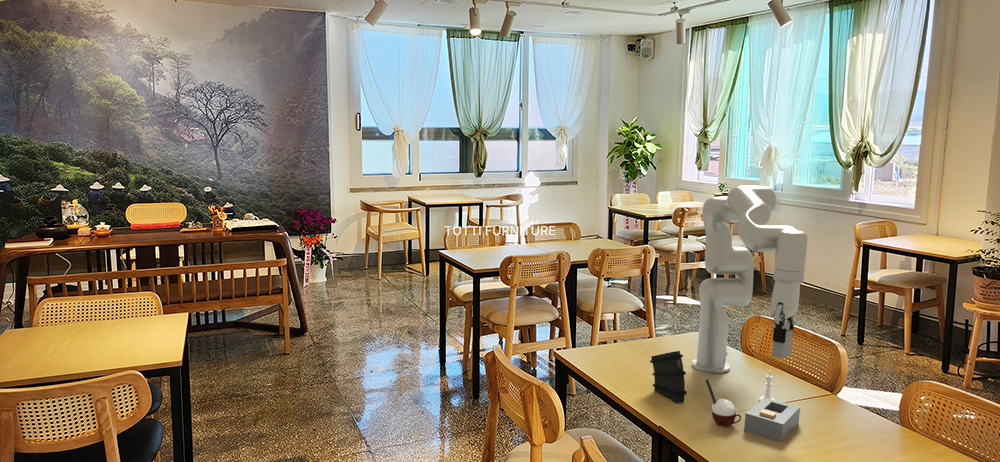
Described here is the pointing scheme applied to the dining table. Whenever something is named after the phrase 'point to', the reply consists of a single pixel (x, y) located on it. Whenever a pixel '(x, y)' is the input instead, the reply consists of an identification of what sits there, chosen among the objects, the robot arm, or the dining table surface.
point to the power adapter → (783, 344)
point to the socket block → (772, 419)
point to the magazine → (669, 376)
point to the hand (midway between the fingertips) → (782, 338)
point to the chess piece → (768, 387)
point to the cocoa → (722, 410)
